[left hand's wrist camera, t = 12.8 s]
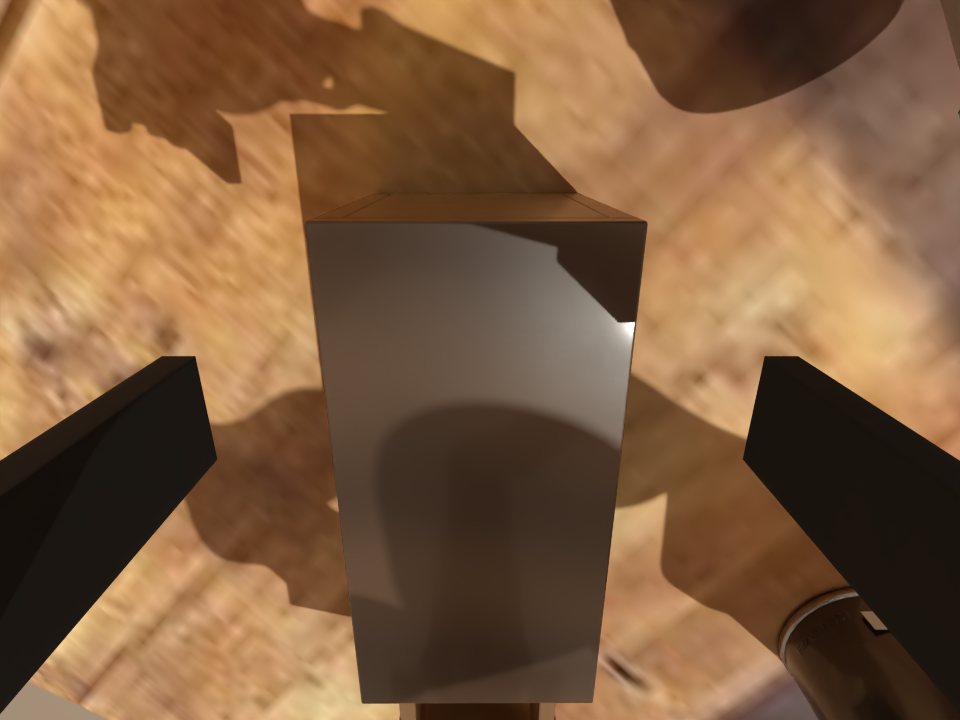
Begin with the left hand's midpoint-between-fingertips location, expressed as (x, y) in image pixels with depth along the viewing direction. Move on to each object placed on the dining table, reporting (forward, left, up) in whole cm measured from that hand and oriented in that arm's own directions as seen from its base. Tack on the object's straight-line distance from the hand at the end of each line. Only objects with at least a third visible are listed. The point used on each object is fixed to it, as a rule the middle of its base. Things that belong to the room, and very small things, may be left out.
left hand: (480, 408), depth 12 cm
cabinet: (+6, -4, -17) cm, 19 cm away
